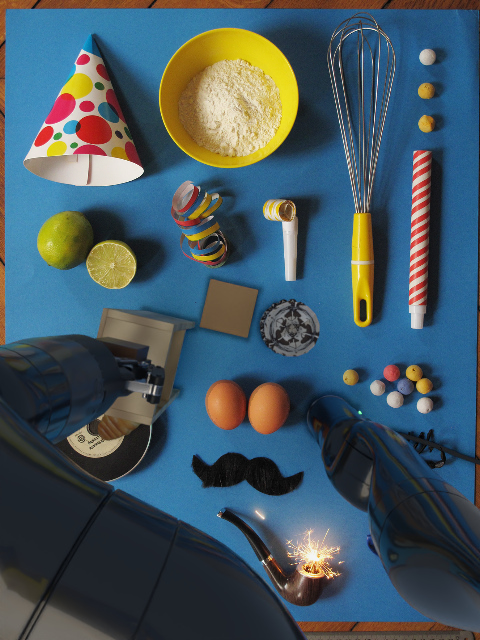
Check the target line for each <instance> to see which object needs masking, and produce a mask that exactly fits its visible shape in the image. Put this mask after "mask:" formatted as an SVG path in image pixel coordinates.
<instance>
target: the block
mask: <svg viewBox="0 0 480 640" xmlns="http://www.w3.org/2000/svg"><path fill="white" fill-rule="evenodd" d="M93 338H94V339H97V340H98V341H100V342H101V343H103V344H104V345H105V346H106V347H107V348H108V349H109V350H110V351H111V353H112V354H113V356H115V357H128V358H131V359H135V360H137V361H140V360H143V359H147V356H148V351H149V346H147V345H143V344H138V343H134V342H129V341H125V340H121V339H116V338H112V337H101V338H97V337H93ZM133 392H134V391H132V393H133ZM132 393H131V394H132Z"/></svg>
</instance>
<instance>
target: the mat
mask: <svg viewBox="0 0 480 640" xmlns="http://www.w3.org/2000/svg"><path fill="white" fill-rule="evenodd" d="M258 294H259V289H257V288H256V289H255V288H252V287H247V286H243V285H239V284H235V283H232V282H231V283H230V282H226V281H222V280H218V279H214V278H213V279H212V278H210V279H209V285H208V288H207V292H206V297H205V301H204V306H203V309H202V314H201V319H200V323H199V327H200V328H202V329H208V330H211V331H216V332H220V333H225V334H229V335H233V336H237V337H241V338H245V339H247V338H248V337H249V332H250V329H251V325H252V319H253V316H254V311H255V308H256V307H255V306H256V303H257V298H258Z"/></svg>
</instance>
